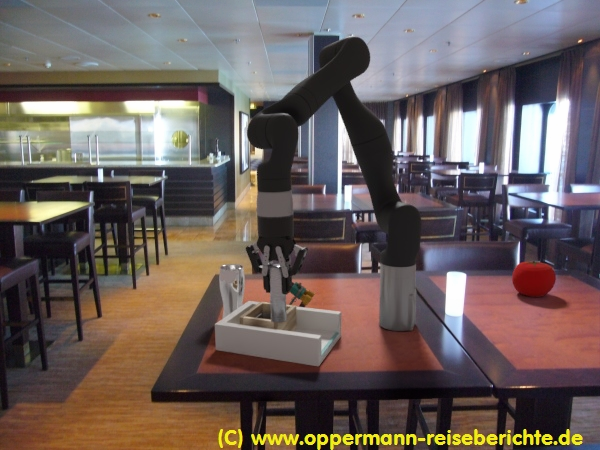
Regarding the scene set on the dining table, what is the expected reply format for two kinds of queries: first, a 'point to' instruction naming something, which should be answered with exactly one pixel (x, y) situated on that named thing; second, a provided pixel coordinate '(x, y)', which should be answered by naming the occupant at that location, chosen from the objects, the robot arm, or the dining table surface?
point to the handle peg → (277, 294)
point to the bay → (281, 336)
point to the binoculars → (301, 294)
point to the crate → (268, 317)
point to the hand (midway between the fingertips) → (277, 292)
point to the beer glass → (231, 287)
